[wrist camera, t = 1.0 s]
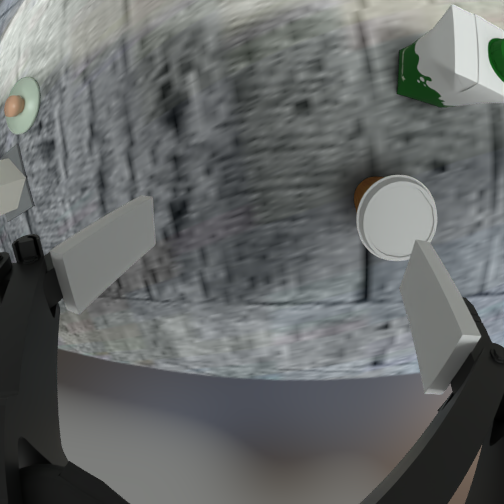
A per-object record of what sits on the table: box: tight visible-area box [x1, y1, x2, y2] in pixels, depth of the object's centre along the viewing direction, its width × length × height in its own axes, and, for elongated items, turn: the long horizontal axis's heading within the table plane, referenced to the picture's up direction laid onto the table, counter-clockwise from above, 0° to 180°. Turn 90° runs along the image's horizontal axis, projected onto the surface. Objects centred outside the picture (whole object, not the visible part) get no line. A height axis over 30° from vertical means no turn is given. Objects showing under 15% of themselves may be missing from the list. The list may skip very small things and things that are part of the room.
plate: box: [6, 77, 40, 134], centre depth 40 cm, size 12×12×1 cm
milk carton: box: [397, 4, 504, 107], centre depth 22 cm, size 9×9×20 cm
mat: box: [0, 144, 35, 222], centre depth 47 cm, size 14×12×1 cm
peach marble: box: [4, 95, 25, 117], centre depth 38 cm, size 4×4×3 cm
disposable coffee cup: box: [354, 175, 437, 261], centre depth 33 cm, size 10×10×12 cm
